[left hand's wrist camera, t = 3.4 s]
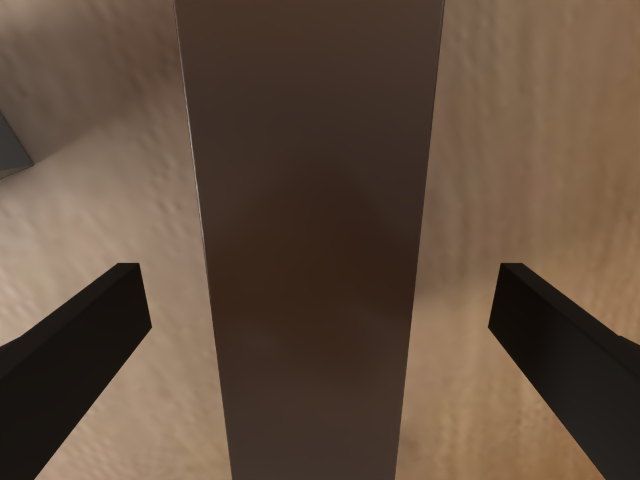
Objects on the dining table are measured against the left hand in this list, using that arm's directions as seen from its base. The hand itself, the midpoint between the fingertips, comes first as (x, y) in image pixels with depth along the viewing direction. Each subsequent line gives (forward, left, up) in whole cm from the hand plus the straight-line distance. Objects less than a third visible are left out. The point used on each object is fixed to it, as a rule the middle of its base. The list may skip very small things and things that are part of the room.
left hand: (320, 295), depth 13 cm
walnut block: (+10, 0, -4) cm, 10 cm away
